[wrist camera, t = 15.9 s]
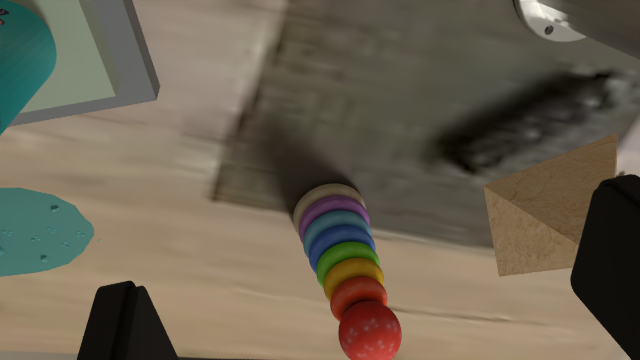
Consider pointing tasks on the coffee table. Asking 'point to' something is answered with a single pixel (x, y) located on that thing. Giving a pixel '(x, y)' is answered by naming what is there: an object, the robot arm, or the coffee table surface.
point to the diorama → (39, 231)
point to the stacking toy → (348, 269)
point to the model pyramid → (547, 208)
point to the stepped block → (91, 59)
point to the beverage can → (22, 58)
